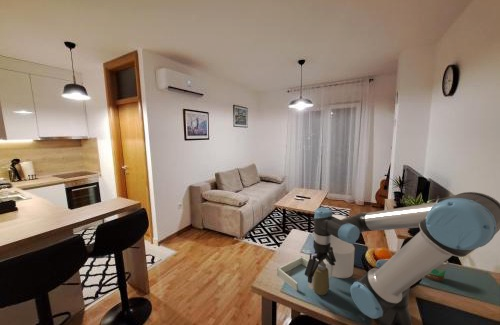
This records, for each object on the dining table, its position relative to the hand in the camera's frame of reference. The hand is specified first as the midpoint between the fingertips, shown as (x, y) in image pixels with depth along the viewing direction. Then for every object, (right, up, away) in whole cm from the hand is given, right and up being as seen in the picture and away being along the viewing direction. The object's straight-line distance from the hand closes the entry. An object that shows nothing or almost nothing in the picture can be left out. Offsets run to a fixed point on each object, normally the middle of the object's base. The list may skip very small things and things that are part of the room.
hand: (320, 281), depth 100 cm
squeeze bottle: (0, -5, +1) cm, 5 cm away
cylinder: (+15, -2, +18) cm, 23 cm away
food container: (+61, -3, +8) cm, 62 cm away
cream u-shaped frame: (-7, -3, +12) cm, 14 cm away
